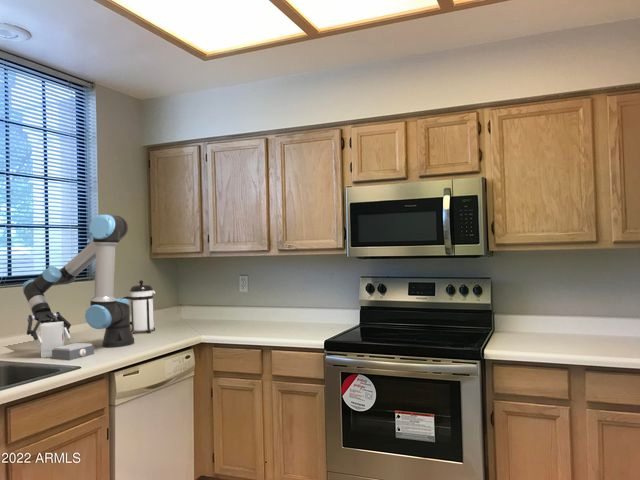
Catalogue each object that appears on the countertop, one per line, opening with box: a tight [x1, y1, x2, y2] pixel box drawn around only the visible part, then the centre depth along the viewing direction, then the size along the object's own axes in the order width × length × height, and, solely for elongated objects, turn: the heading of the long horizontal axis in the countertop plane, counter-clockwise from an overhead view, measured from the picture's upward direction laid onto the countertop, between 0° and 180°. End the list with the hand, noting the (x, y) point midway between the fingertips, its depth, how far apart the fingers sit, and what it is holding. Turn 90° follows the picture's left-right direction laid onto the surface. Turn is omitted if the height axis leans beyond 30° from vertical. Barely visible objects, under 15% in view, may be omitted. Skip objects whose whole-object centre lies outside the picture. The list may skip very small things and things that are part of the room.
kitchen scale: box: [51, 342, 95, 361], centre depth 233 cm, size 13×12×5 cm
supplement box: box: [39, 321, 65, 359], centre depth 238 cm, size 9×9×15 cm
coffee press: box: [121, 279, 156, 335], centre depth 295 cm, size 17×16×30 cm
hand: (55, 342), depth 236 cm, fingers closed on supplement box, 12 cm apart
